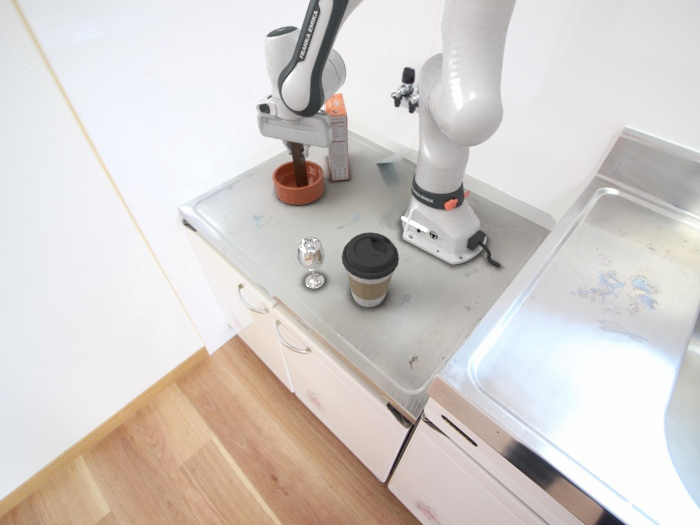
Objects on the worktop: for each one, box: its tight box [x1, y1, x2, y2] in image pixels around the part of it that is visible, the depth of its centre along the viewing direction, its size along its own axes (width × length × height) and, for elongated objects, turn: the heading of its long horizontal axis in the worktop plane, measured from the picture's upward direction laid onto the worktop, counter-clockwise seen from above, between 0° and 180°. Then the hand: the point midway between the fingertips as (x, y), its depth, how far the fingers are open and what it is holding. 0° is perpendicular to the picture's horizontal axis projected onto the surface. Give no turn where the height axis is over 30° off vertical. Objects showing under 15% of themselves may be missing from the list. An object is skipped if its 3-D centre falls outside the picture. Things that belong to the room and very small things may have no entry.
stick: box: [290, 141, 308, 188], centre depth 96 cm, size 3×3×16 cm
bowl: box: [271, 159, 325, 206], centre depth 101 cm, size 15×15×6 cm
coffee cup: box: [341, 232, 400, 308], centre depth 71 cm, size 11×11×15 cm
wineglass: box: [297, 236, 326, 290], centre depth 75 cm, size 6×6×12 cm
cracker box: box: [323, 93, 350, 182], centre depth 103 cm, size 14×6×21 cm, turn 6°
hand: (298, 155), depth 95 cm, fingers closed on stick, 2 cm apart
